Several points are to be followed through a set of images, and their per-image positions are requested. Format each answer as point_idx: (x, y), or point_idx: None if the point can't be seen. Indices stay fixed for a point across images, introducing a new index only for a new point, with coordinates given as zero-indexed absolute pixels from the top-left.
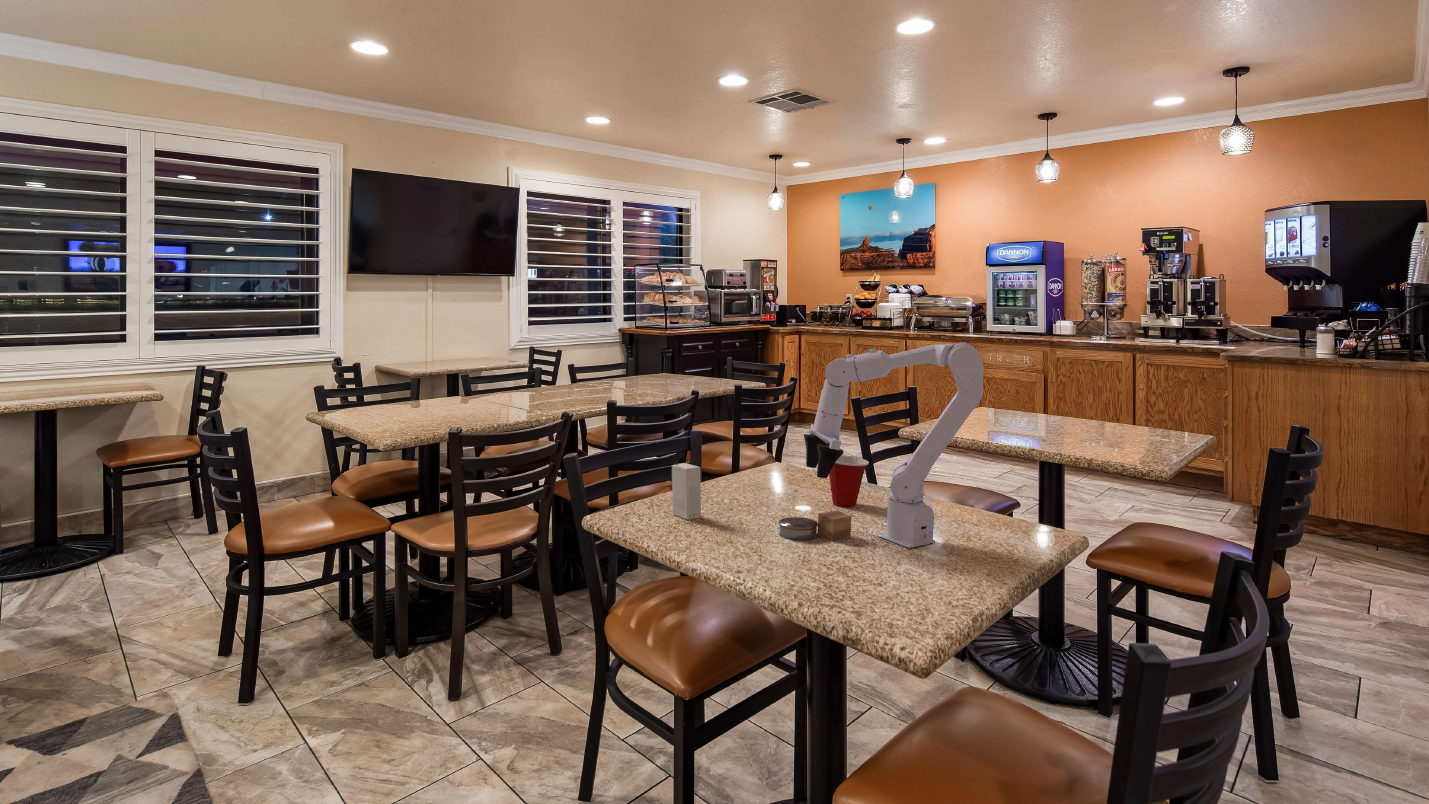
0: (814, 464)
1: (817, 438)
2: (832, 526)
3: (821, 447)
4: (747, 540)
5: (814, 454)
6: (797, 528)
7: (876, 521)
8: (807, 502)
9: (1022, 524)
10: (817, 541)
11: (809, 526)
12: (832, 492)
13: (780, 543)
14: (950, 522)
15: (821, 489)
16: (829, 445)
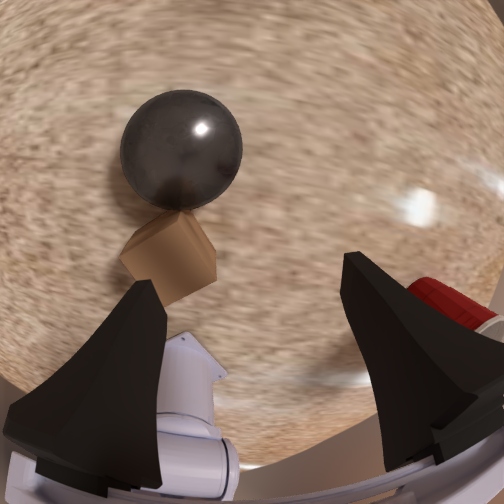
0: (346, 299)
1: (417, 441)
2: (126, 246)
3: (3, 429)
4: (135, 20)
5: (374, 337)
6: (121, 144)
7: (301, 342)
8: (448, 226)
9: (269, 460)
10: (131, 195)
11: (138, 181)
12: (438, 287)
13: (109, 99)
14: (283, 421)
15: (492, 266)
16: (39, 474)
